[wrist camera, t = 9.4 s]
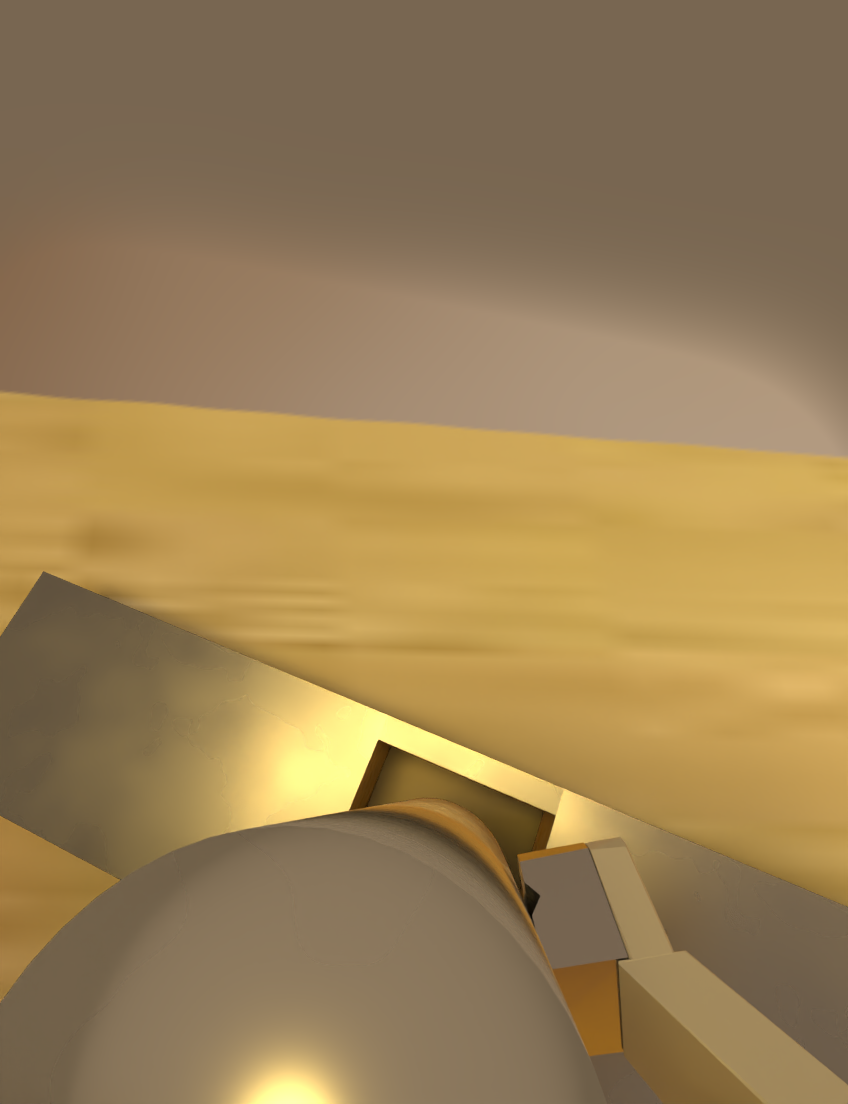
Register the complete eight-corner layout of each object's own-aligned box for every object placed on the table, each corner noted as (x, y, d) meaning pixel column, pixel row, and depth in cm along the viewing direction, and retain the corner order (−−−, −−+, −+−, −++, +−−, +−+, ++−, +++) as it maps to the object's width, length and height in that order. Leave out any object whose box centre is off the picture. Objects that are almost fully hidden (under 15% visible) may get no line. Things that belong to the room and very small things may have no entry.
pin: (318, 939, 14) (-279, 1513, 3) (384, 772, 15) (143, 732, 4) (476, 1020, 13) (486, 2275, 2) (533, 837, 14) (724, 1002, 3)
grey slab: (-14, 771, 21) (-87, 769, 18) (94, 597, 23) (43, 571, 21) (982, 1287, 15) (1101, 1404, 12) (999, 976, 17) (1104, 1013, 14)
